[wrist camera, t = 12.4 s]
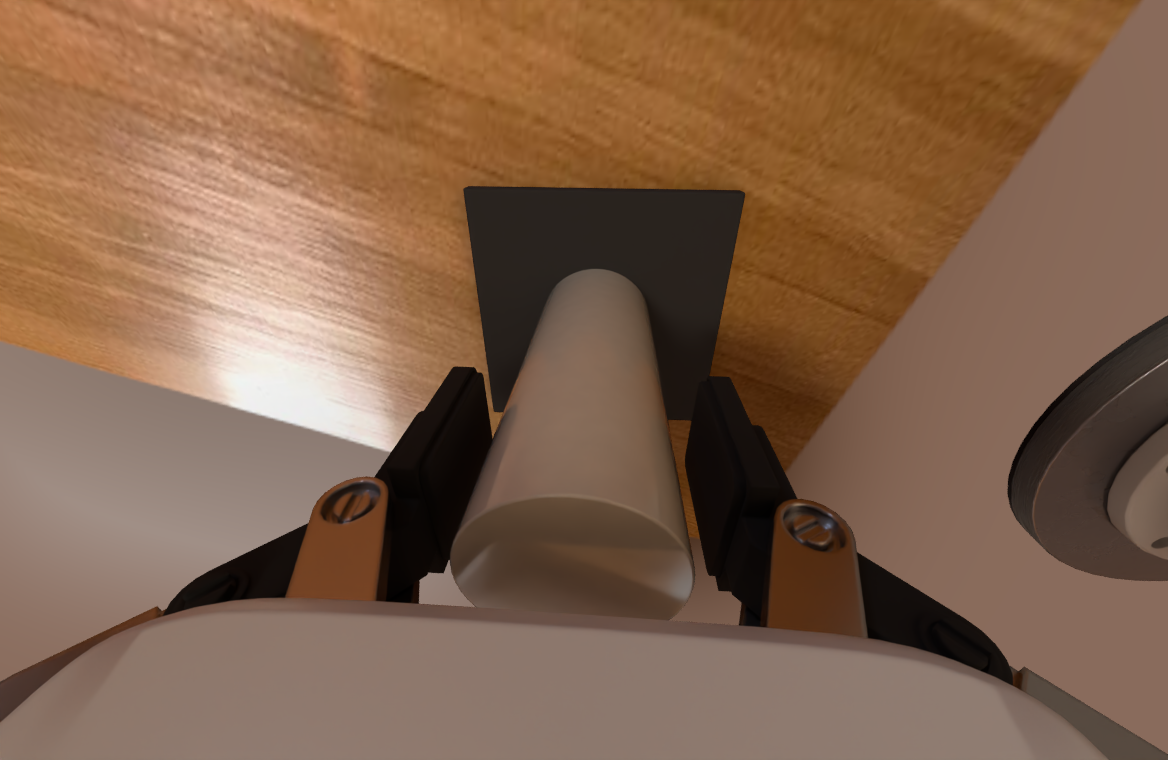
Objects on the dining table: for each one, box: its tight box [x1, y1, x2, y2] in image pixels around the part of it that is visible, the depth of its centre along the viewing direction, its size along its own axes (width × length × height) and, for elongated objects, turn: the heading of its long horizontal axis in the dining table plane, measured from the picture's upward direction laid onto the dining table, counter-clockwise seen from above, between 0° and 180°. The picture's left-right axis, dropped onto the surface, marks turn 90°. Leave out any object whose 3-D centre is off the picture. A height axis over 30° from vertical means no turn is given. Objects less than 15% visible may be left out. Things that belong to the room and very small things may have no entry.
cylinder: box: [450, 269, 695, 620], centre depth 12 cm, size 4×4×12 cm
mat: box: [464, 186, 745, 421], centre depth 17 cm, size 10×10×1 cm
